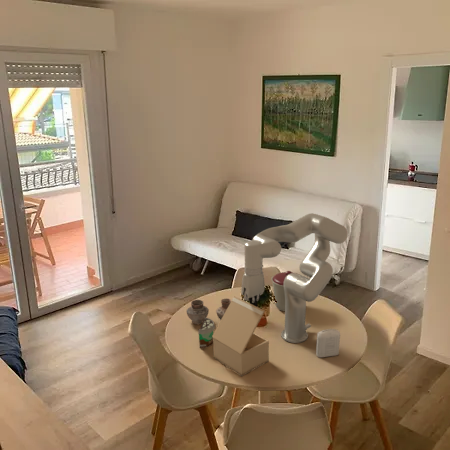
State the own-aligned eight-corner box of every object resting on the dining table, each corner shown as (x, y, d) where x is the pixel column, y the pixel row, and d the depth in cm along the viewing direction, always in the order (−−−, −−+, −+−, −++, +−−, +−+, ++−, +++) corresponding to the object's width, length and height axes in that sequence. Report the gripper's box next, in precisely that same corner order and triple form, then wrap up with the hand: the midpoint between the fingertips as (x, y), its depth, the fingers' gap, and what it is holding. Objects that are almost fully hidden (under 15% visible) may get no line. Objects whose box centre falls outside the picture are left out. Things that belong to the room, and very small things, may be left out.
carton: (240, 344, 216) (240, 325, 213) (268, 361, 202) (268, 340, 200) (213, 357, 206) (213, 337, 203) (241, 375, 192) (241, 354, 190)
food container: (212, 350, 211) (211, 331, 208) (198, 349, 212) (198, 330, 209) (217, 336, 222) (217, 318, 220) (205, 335, 224) (204, 317, 221)
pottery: (235, 327, 231) (235, 305, 228) (185, 327, 232) (184, 305, 229) (236, 316, 242) (236, 295, 238) (188, 316, 243) (187, 295, 239)
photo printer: (335, 350, 210) (337, 325, 206) (340, 355, 206) (341, 330, 202) (314, 353, 208) (315, 328, 204) (318, 358, 204) (319, 333, 200)
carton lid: (235, 296, 207) (234, 295, 206) (264, 310, 193) (263, 310, 193) (213, 337, 203) (211, 336, 202) (241, 354, 189) (240, 353, 189)
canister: (305, 301, 257) (307, 266, 251) (303, 317, 240) (305, 279, 234) (273, 298, 261) (273, 263, 255) (268, 313, 244) (269, 276, 238)
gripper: (259, 263, 204) (259, 301, 210) (234, 272, 195) (234, 311, 200) (272, 267, 199) (271, 306, 204) (246, 277, 190) (247, 318, 195)
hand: (253, 309), depth 202 cm, fingers closed
